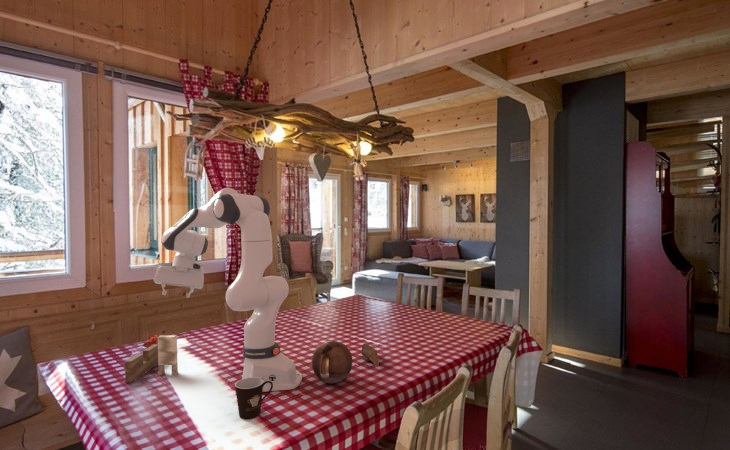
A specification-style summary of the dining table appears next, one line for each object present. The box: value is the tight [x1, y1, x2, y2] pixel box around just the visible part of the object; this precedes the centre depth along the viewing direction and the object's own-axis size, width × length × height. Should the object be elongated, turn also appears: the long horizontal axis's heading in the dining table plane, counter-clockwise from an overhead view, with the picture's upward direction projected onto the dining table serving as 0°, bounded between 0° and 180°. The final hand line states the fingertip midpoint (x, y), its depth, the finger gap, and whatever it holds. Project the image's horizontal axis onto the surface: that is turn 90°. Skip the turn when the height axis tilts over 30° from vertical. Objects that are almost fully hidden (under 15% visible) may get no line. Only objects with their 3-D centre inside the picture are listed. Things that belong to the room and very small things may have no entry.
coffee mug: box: [234, 377, 273, 420], centre depth 127 cm, size 12×9×10 cm
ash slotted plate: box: [157, 334, 179, 376], centre depth 160 cm, size 6×2×15 cm, turn 89°
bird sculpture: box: [361, 343, 380, 368], centre depth 170 cm, size 7×25×5 cm, turn 15°
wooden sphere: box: [311, 340, 353, 384], centre depth 151 cm, size 15×15×15 cm
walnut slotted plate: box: [124, 344, 158, 383], centre depth 162 cm, size 2×20×8 cm, turn 179°
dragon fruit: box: [141, 332, 164, 349], centre depth 188 cm, size 8×8×12 cm
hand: (175, 296), depth 176 cm, fingers open, 8 cm apart
